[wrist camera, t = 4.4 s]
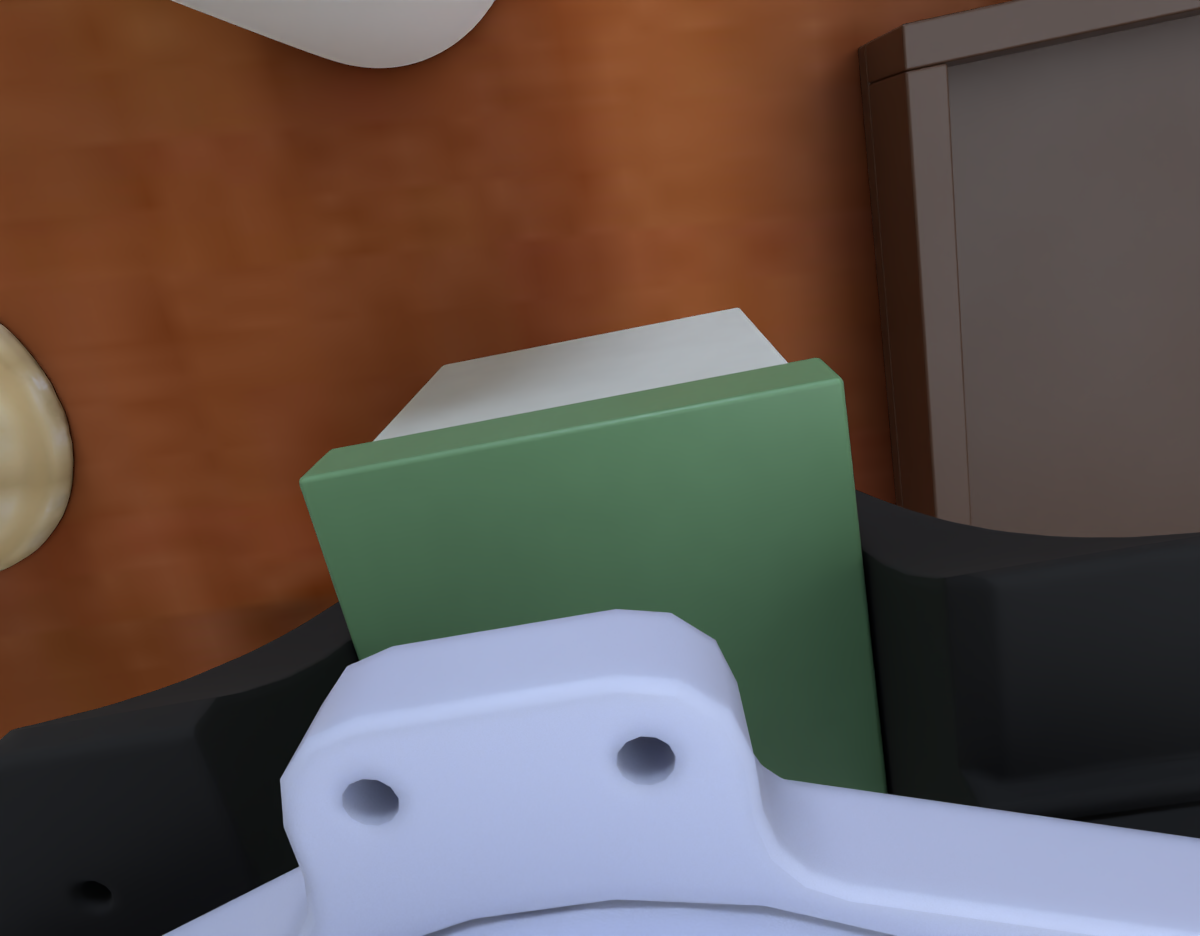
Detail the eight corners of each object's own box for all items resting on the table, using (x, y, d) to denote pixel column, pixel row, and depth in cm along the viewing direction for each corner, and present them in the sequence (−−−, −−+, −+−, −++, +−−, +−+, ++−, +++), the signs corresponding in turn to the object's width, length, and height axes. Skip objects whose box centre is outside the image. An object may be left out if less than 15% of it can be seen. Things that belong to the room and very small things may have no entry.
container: (805, 680, 16) (907, 962, 10) (526, 724, 16) (477, 1017, 11) (749, 291, 13) (844, 376, 8) (426, 355, 14) (294, 480, 8)
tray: (1343, 622, 23) (1450, 688, 20) (910, 686, 24) (951, 759, 21) (1420, -73, 17) (1581, -122, 14) (856, 47, 18) (902, 24, 15)
